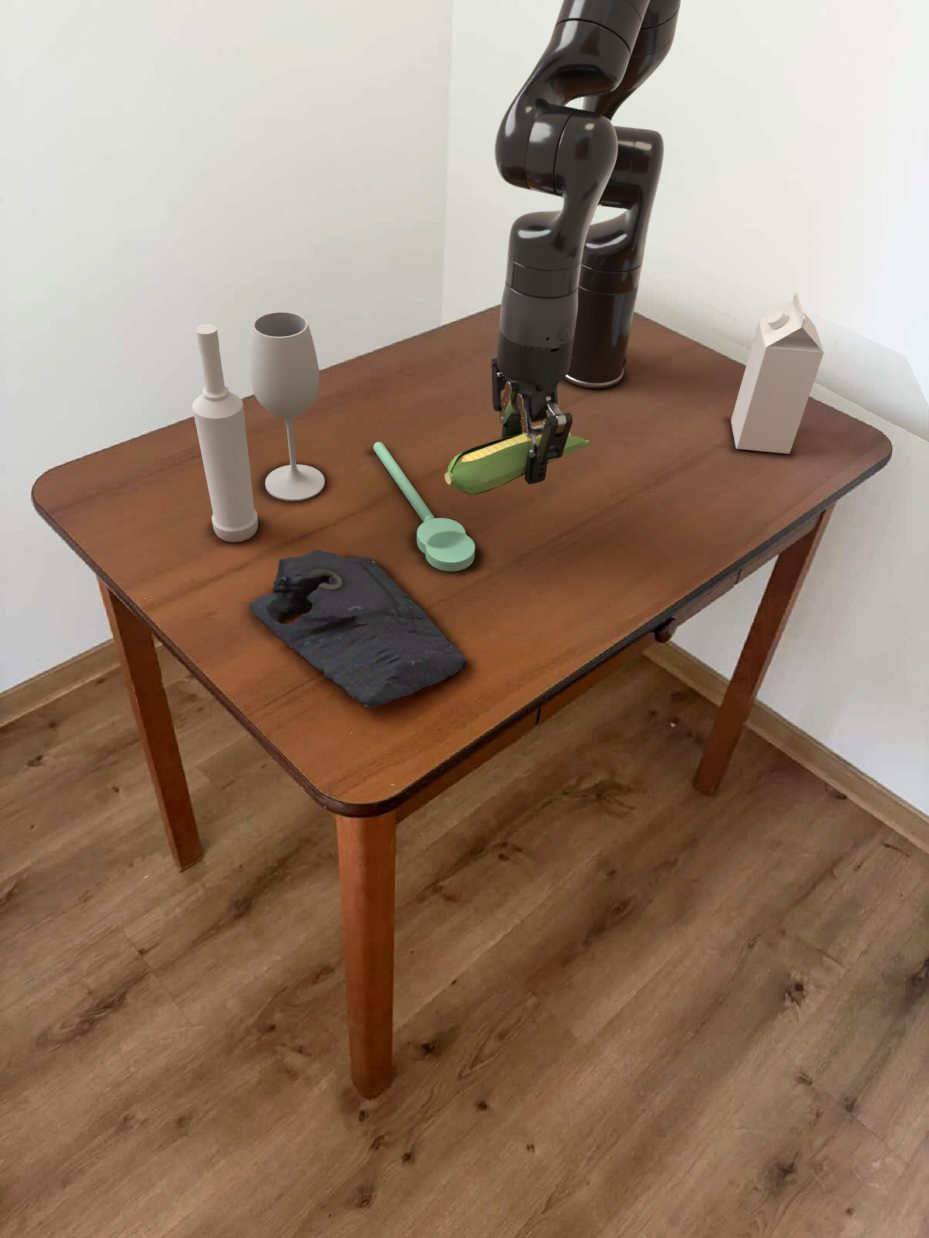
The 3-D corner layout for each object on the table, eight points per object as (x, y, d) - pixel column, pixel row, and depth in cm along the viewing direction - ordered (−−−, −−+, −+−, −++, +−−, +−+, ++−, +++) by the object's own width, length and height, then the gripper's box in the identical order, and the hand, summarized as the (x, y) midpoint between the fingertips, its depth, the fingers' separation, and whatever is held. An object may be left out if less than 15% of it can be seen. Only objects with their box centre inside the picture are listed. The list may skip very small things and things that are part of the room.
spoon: (356, 453, 123) (356, 444, 122) (397, 444, 125) (397, 435, 124) (437, 576, 107) (437, 567, 106) (482, 564, 109) (483, 555, 108)
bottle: (221, 548, 109) (187, 346, 91) (207, 522, 112) (172, 322, 95) (265, 536, 111) (240, 336, 93) (250, 511, 114) (224, 312, 96)
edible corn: (433, 485, 105) (434, 450, 101) (574, 432, 113) (579, 398, 110) (460, 510, 102) (462, 475, 99) (603, 454, 110) (609, 420, 107)
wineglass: (300, 457, 122) (287, 301, 107) (338, 485, 118) (330, 327, 104) (251, 481, 118) (230, 322, 103) (289, 510, 114) (272, 349, 100)
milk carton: (782, 426, 133) (824, 295, 119) (789, 455, 128) (834, 322, 114) (730, 421, 133) (767, 289, 120) (735, 450, 128) (774, 316, 115)
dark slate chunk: (350, 737, 90) (348, 704, 87) (240, 603, 102) (235, 570, 99) (480, 669, 97) (482, 636, 94) (362, 552, 109) (361, 519, 106)
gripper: (472, 300, 99) (464, 440, 111) (538, 367, 90) (522, 511, 101) (536, 289, 101) (522, 426, 113) (607, 353, 92) (583, 495, 104)
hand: (522, 466), depth 107 cm, fingers closed on edible corn, 5 cm apart
